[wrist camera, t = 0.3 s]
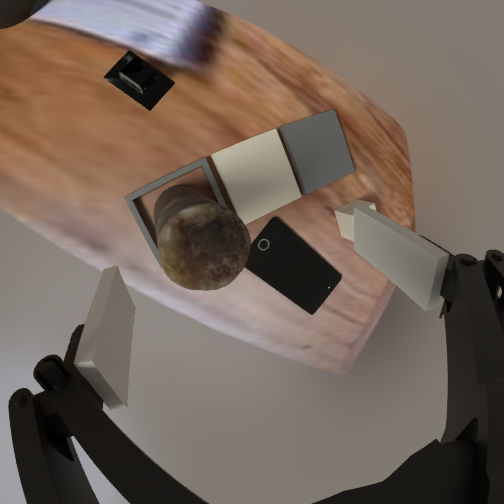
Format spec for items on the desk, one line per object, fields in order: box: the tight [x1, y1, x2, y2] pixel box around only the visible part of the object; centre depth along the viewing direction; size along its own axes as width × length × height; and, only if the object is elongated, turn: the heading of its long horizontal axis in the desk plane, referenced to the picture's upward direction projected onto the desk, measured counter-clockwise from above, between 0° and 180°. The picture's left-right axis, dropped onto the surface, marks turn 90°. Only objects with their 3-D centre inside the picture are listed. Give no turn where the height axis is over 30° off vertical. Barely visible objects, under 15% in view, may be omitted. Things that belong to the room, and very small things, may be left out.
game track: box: [125, 109, 355, 268], centre depth 40 cm, size 11×34×1 cm, turn 113°
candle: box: [154, 185, 251, 290], centre depth 30 cm, size 8×7×20 cm
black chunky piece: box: [104, 51, 175, 111], centre depth 30 cm, size 12×7×5 cm, turn 50°
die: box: [335, 199, 376, 241], centre depth 46 cm, size 5×5×5 cm
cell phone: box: [245, 217, 342, 315], centre depth 48 cm, size 9×18×1 cm, turn 50°
